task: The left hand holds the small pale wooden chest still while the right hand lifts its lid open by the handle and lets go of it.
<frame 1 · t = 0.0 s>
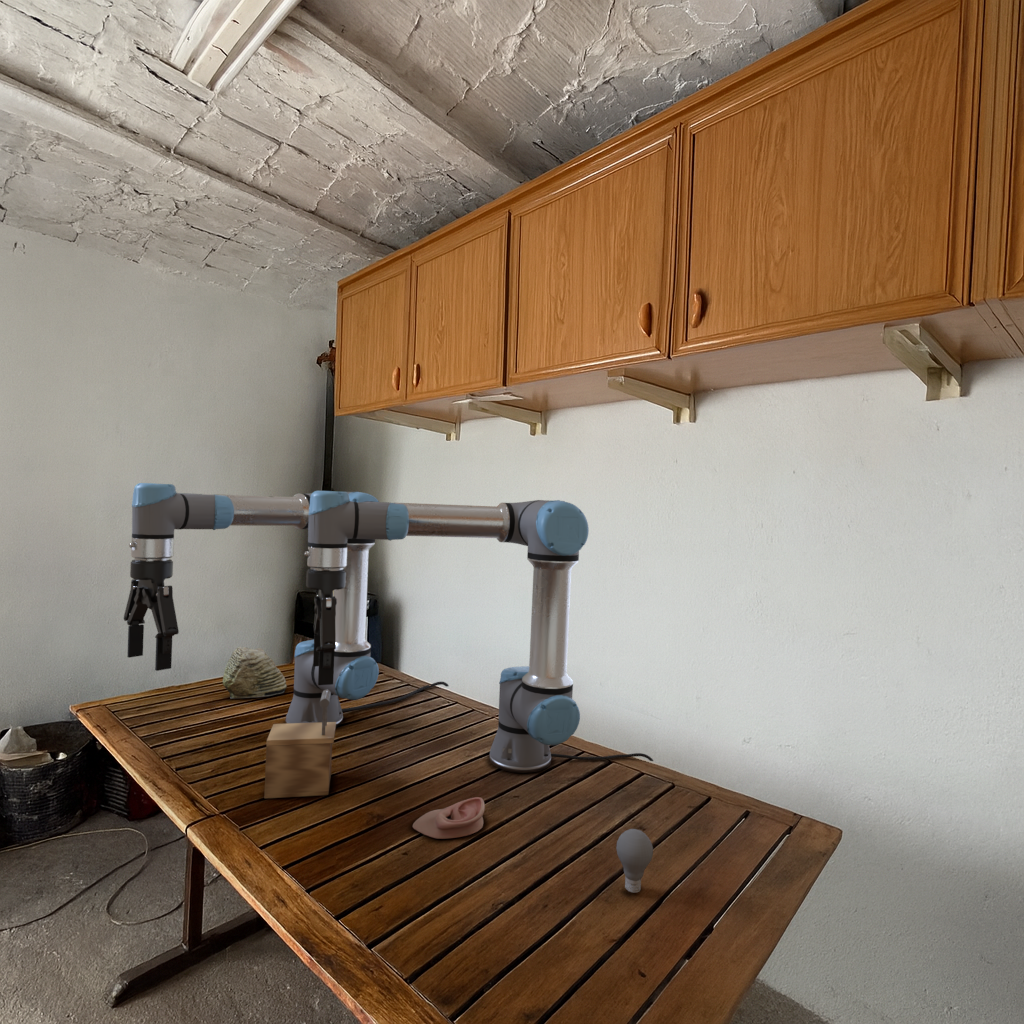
left hand: (148, 662, 129), 28 cm above the table, tool pointing down, fingers open, 13 cm apart
right hand: (322, 674, 126), 28 cm above the table, tool pointing down, fingers open, 13 cm apart
chest: (299, 786, 138), on the table
lid: (303, 715, 138), point 16 cm above the table, hinge at 0.0°
anatomical model: (449, 825, 124), on the table
light bulb: (632, 891, 106), on the table
fossil: (254, 694, 198), on the table
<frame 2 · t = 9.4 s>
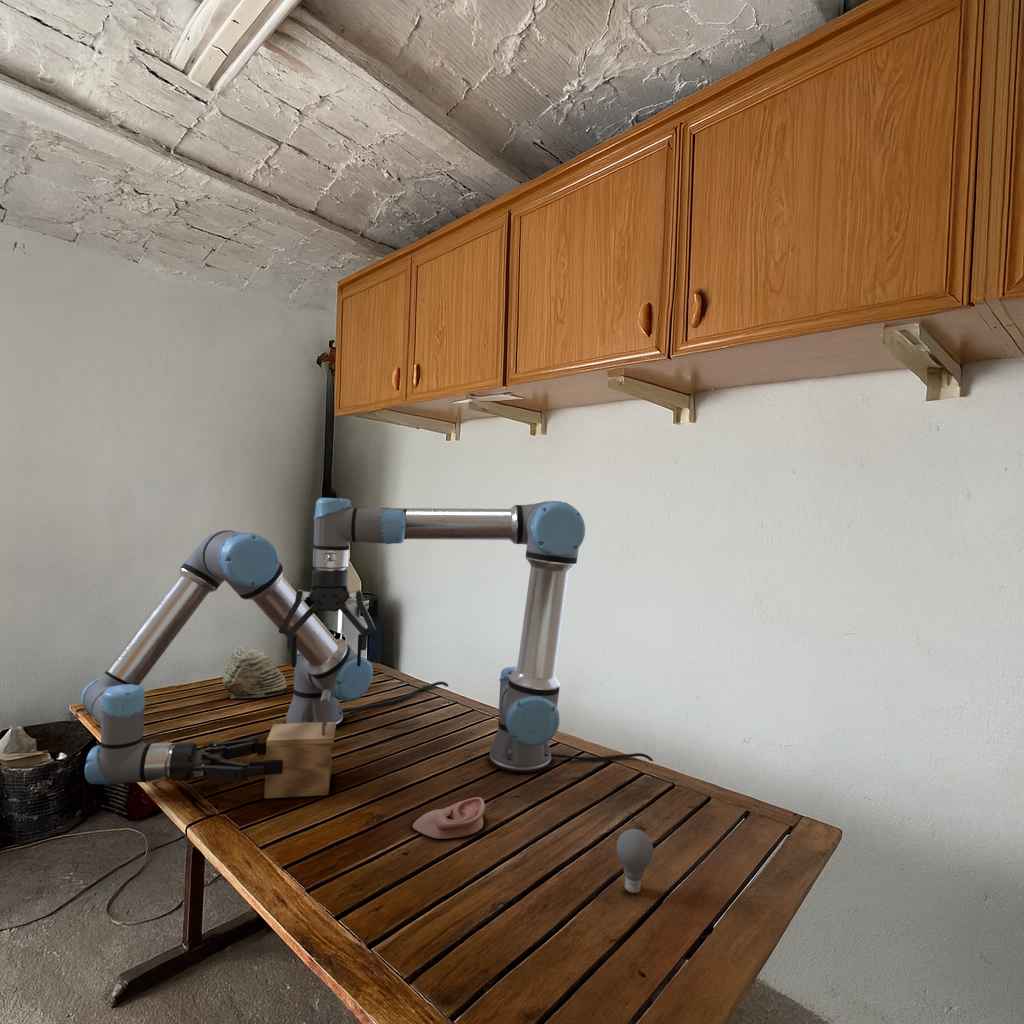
left hand: (285, 756, 137), 7 cm above the table, tool horizontal, fingers closed on chest, 10 cm apart
right hand: (326, 665, 139), 26 cm above the table, tool pointing down, fingers open, 13 cm apart
chest: (299, 786, 138), on the table, touching left hand
everything else where it was.
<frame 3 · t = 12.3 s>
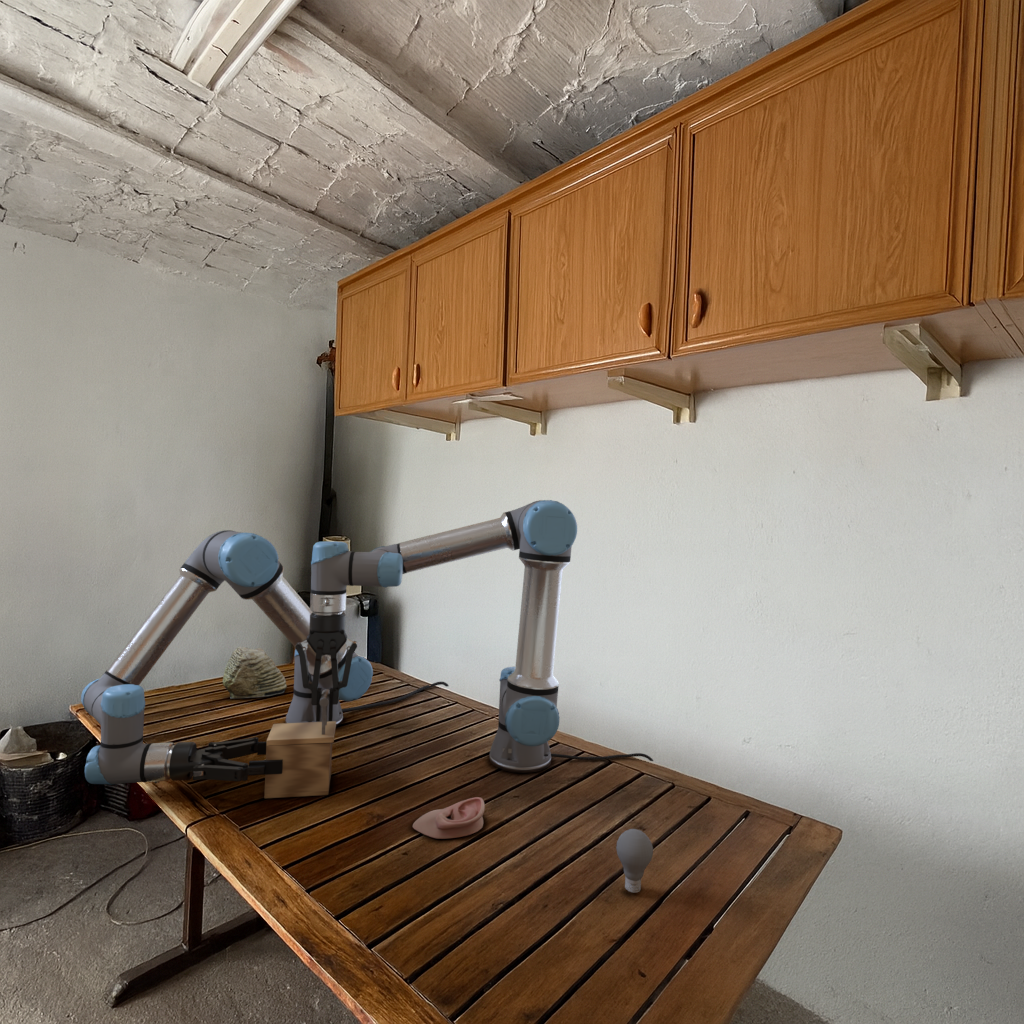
left hand: (285, 756, 137), 7 cm above the table, tool horizontal, fingers closed on chest, 10 cm apart
right hand: (324, 718, 139), 15 cm above the table, tool pointing down, fingers closed on lid, 2 cm apart
chest: (299, 786, 138), on the table, touching left hand
lid: (303, 714, 138), point 16 cm above the table, hinge at 0.6°, touching right hand
everything else where it was.
when the left hand's fingers open (7 cm above the table, at t = 18.9 s): chest stays where it is, on the table.
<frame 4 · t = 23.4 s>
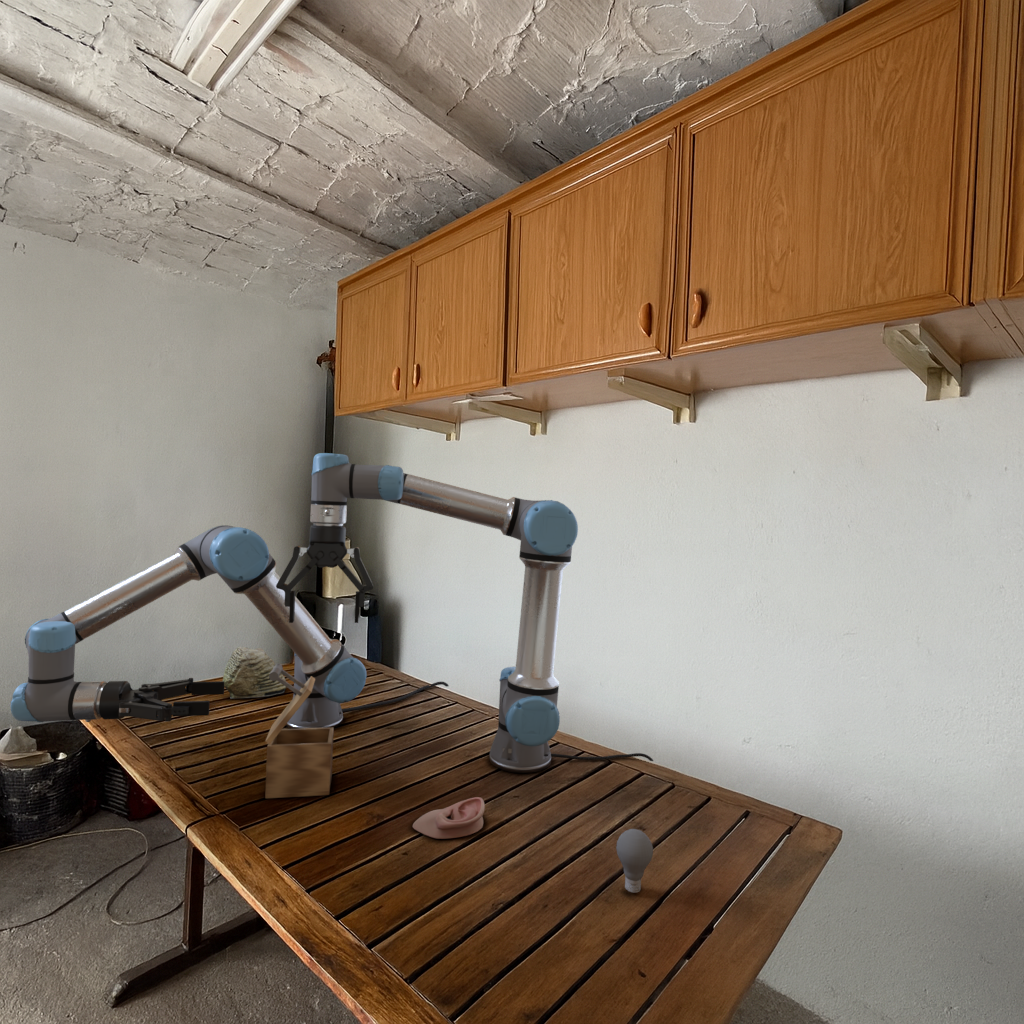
left hand: (217, 697, 134), 20 cm above the table, tool horizontal, fingers open, 13 cm apart
right hand: (324, 621, 138), 36 cm above the table, tool pointing down, fingers open, 13 cm apart
chest: (299, 786, 138), on the table
lid: (276, 698, 136), point 19 cm above the table, hinge at 53.7°
everything else where it was.
at the end: lid at +54° (first picture: +0°); the left hand is holding nothing; the right hand is holding nothing; chest tilted 0°; chest never tilted more than 2° during the clip; chest moved 0.2 cm from its start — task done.
